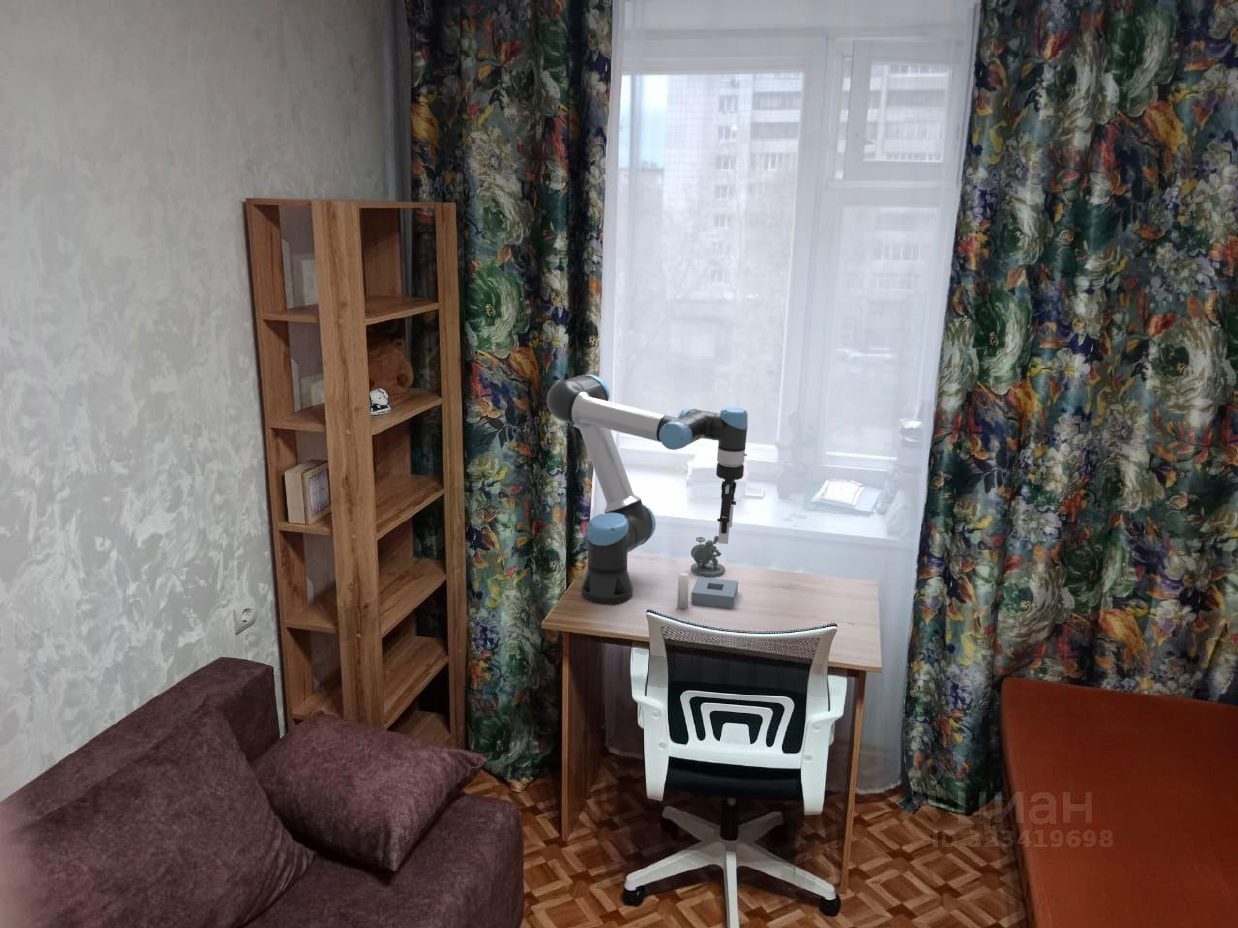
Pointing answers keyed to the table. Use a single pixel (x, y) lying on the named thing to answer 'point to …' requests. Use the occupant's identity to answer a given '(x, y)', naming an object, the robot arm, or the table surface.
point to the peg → (683, 590)
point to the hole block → (714, 592)
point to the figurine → (706, 559)
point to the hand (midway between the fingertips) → (725, 534)
